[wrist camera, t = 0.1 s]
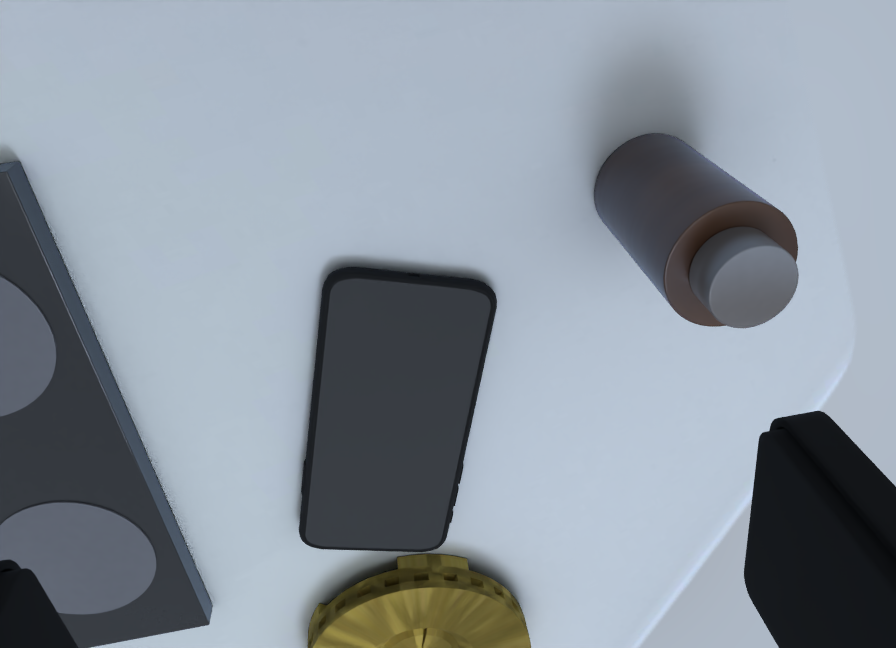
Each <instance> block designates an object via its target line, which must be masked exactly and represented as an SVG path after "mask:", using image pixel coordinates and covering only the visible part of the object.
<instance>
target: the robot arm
mask: <svg viewBox="0 0 896 648" xmlns="http://www.w3.org/2000/svg"><path fill="white" fill-rule="evenodd" d="M744 579H745V584H746V588H747V591H748V594H749V596H750V598H751V600H752V602H753V604H754V606H755V607H756V609H757V611H758V612H759V614H760V616H761V618H762V619H763V621H764V623H765V624H766V626H767V628H768V630H769V631H770V633H771V635H772V636H773V638H774V640H775V642H776V643H777V645H778V646H779V648H896V487H895V486H894V484H893V483H892V482H891V481H890V480H889V479H888V478H887V477H886V476H885V475H884V474H883V473H882V472H881V471H880V470H879V469H878V468H877V466H876V465H875V464H874V463H873V462H872V461H871V460H870V459H869V458H868V457H867V456H866V455H865V454H864V453H863V452H862V451H861V450H860V449H859V447H858V446H857V445H856V444H855V443H854V442H853V441H852V440H851V439H850V438H849V437H848V436H847V435H846V434H845V432H844V431H843V430H842V429H841V428H840V427H839V426H838V425H837V424H836V423H835V422H834V421H833V420H832V419H831V418H830V417H829V416H828V415H827V414H825V413H824V412H821V411H814V412H809V413H803V414H798V415H792V416H787V417H781V418H777V419H774V421H773V422H772V423H771V427H770V431H768V432H764V433H762V434H761V435H760V438H759V444H758V452H757V461H756V470H755V479H754V488H753V497H752V505H751V514H750V523H749V533H748V541H747V550H746V558H745V568H744ZM0 648H78V646H77V644H76V643H75V641H74V639H73V638H72V636H71V634H70V632H69V631H68V629H67V627H66V626H65V624H64V622H63V621H62V619H61V617H60V616H59V614H58V612H57V611H56V609H55V607H54V606H53V604H52V602H51V601H50V599H49V597H48V596H47V594H46V592H45V591H44V589H43V587H42V586H41V584H40V582H39V581H38V579H37V577H36V575H35V574H34V573H33V572H32V570H30V569H28V568H24V569H21V568H20V566H19V565H18V564H17V563H16V562H15V561H12V560H10V559H9V560H1V561H0Z"/></svg>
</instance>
